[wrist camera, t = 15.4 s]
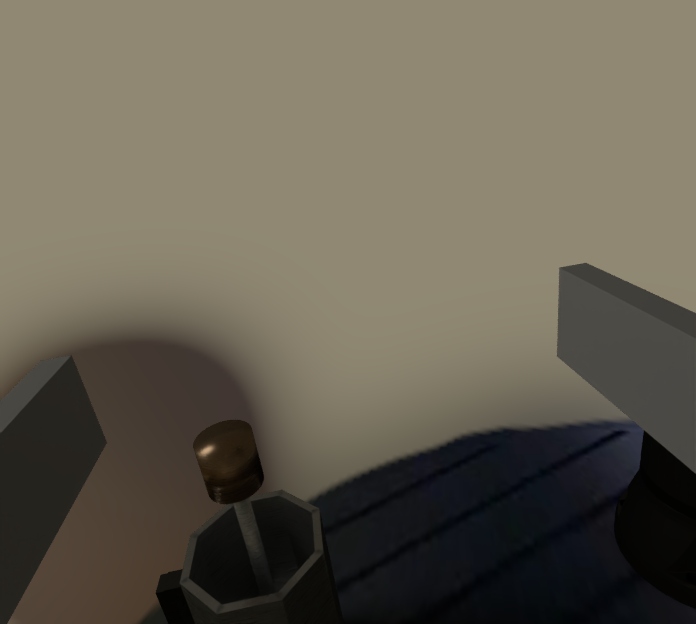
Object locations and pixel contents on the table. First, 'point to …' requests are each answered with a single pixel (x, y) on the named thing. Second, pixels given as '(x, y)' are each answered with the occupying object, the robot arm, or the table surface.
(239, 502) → the plunger
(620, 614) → the table surface
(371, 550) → the table surface
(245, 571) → the press pot
